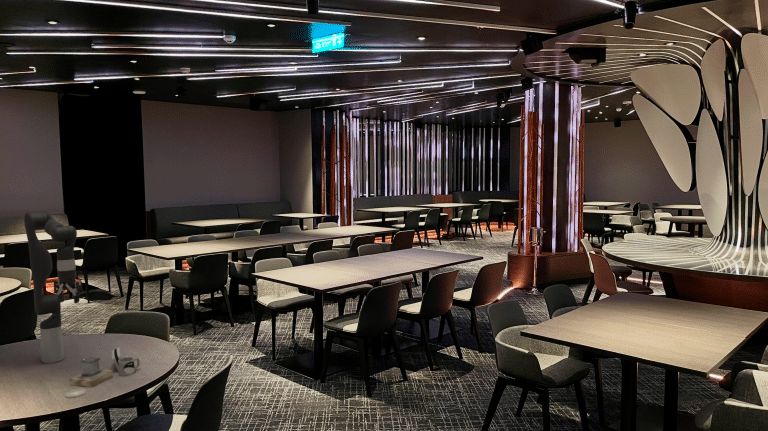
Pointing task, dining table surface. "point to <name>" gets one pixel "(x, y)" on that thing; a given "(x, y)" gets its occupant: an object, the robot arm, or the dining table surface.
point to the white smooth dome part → (75, 393)
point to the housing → (90, 366)
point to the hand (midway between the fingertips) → (69, 302)
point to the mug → (127, 366)
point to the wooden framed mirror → (91, 379)
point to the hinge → (118, 356)
